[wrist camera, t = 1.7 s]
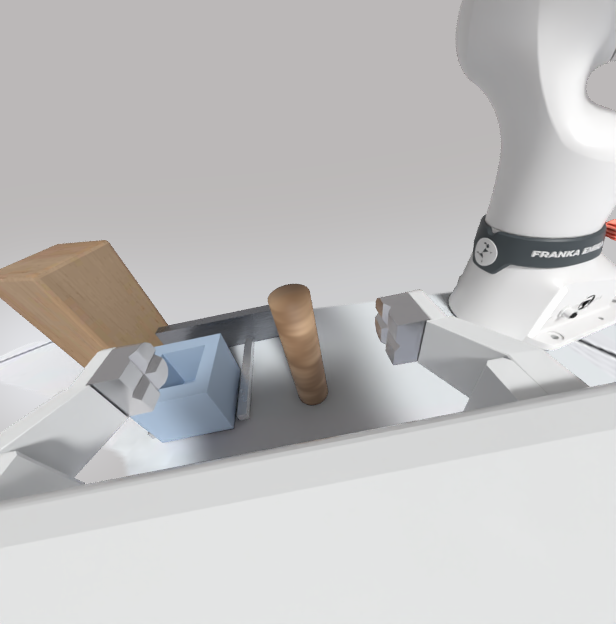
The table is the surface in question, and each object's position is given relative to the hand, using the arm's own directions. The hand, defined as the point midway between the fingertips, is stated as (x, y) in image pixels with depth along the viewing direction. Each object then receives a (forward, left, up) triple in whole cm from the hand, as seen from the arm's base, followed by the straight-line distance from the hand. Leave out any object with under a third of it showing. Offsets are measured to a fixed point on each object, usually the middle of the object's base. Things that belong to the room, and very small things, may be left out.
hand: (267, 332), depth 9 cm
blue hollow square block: (+15, -13, -22) cm, 30 cm away
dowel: (0, -12, -23) cm, 26 cm away
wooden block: (+30, -26, -23) cm, 46 cm away
